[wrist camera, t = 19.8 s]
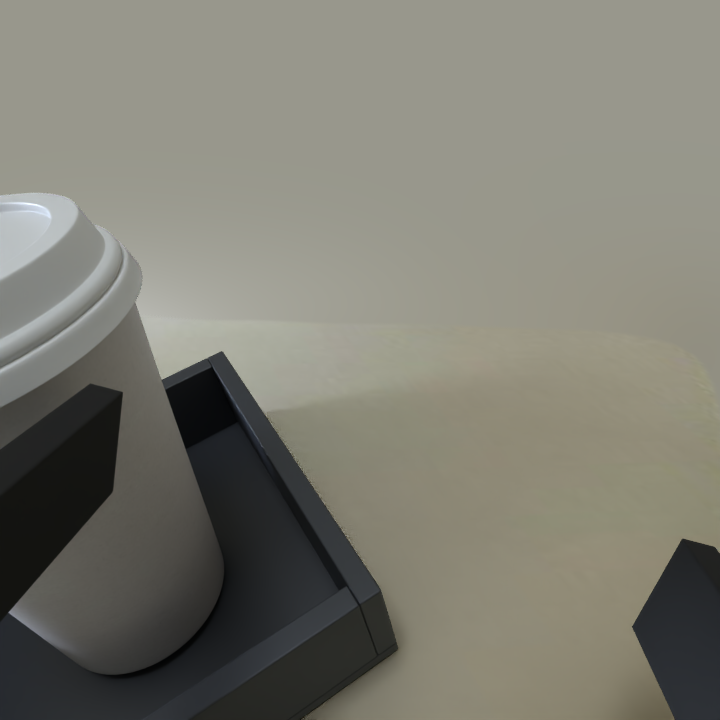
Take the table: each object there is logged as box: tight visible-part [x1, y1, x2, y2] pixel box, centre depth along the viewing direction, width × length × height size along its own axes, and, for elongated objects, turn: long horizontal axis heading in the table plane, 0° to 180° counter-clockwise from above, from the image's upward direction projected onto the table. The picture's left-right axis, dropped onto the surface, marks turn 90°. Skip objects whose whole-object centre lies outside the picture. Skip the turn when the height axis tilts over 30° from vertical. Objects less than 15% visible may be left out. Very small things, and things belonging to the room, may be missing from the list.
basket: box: [0, 351, 398, 720], centre depth 22 cm, size 15×15×5 cm
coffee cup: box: [0, 193, 224, 675], centre depth 18 cm, size 10×10×15 cm
